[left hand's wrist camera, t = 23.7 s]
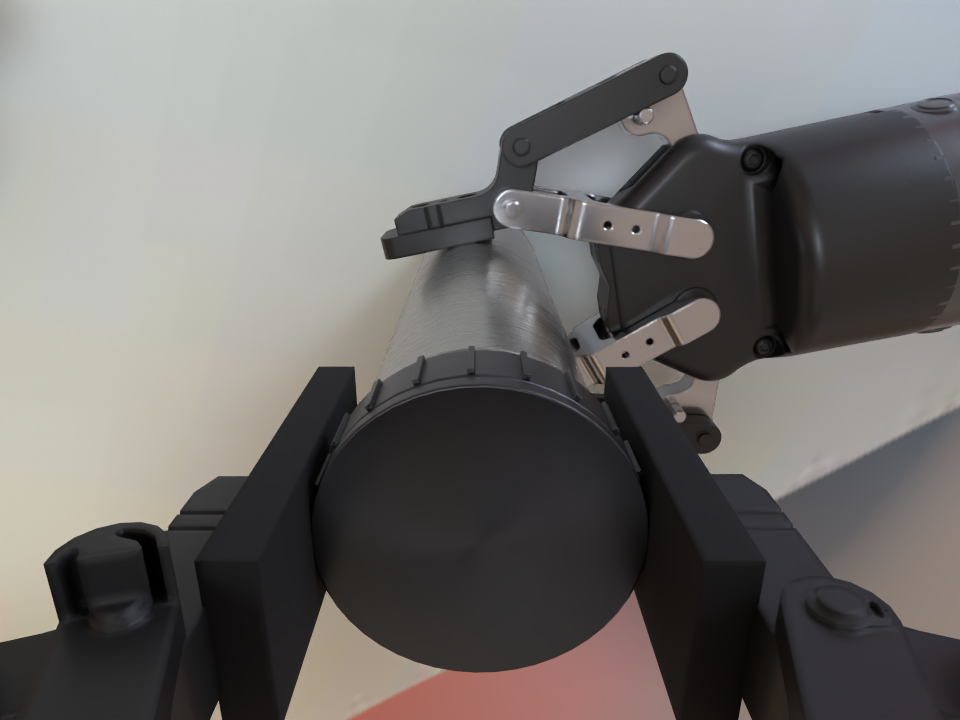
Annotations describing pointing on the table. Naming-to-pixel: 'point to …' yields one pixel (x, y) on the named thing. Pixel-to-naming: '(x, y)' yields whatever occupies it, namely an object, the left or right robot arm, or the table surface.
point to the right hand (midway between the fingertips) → (407, 319)
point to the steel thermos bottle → (481, 307)
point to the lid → (479, 513)
